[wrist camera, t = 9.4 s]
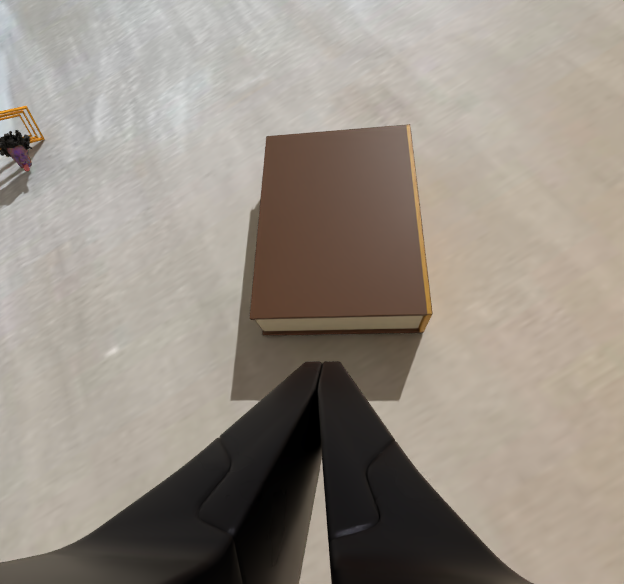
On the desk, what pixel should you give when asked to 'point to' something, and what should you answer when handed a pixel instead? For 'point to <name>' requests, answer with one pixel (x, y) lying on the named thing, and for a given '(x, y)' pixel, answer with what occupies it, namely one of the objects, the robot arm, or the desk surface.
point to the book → (340, 235)
